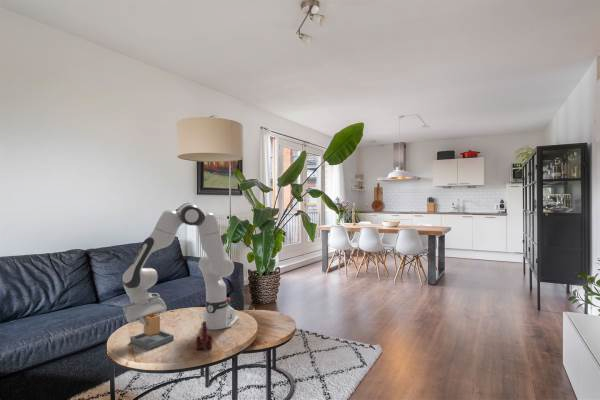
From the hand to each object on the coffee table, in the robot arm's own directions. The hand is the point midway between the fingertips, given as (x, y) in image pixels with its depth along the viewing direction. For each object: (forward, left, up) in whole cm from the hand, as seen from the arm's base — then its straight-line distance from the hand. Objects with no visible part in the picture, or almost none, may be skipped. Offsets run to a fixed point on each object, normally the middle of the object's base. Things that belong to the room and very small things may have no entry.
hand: (152, 323), depth 173 cm
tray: (0, -1, -9) cm, 9 cm away
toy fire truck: (-3, +28, -9) cm, 30 cm away
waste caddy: (0, -1, -5) cm, 5 cm away
